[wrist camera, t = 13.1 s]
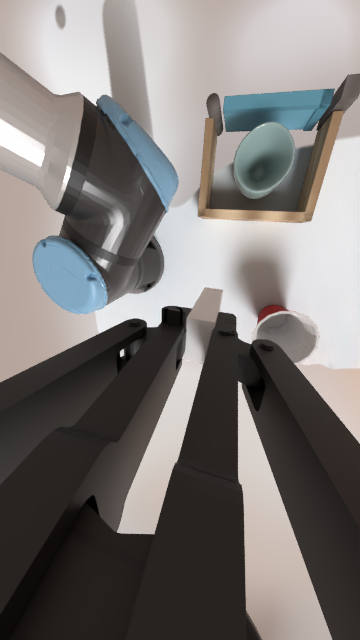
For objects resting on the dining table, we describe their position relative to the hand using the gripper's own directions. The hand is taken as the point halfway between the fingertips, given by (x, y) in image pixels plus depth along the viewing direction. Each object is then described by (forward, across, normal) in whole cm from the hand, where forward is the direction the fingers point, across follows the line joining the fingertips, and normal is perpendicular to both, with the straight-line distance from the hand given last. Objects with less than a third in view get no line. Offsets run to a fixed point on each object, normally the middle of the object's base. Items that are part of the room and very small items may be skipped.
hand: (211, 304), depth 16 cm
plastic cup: (+30, +12, -11) cm, 34 cm away
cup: (+30, +3, +15) cm, 33 cm away
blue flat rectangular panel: (+29, +3, +22) cm, 36 cm away
